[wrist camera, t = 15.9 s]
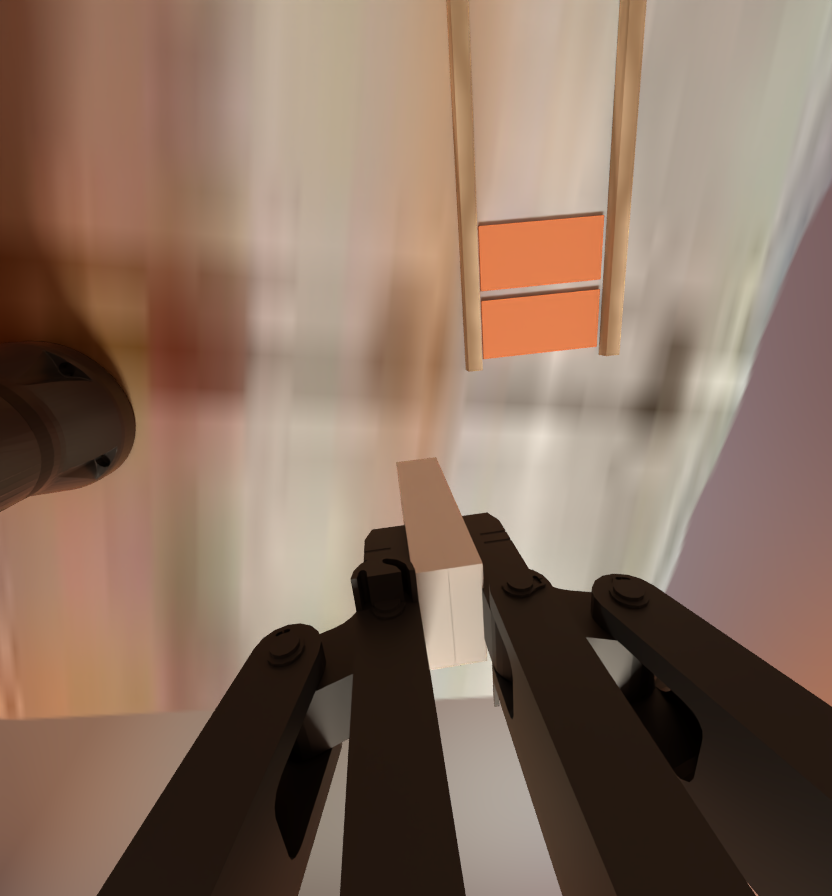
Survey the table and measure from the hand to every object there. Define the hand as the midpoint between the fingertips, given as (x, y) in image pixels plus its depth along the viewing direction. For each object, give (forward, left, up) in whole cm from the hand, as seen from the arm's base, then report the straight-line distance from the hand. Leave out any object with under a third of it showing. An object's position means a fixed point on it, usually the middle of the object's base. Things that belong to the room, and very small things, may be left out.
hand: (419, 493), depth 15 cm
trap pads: (+17, +8, -29) cm, 35 cm away
